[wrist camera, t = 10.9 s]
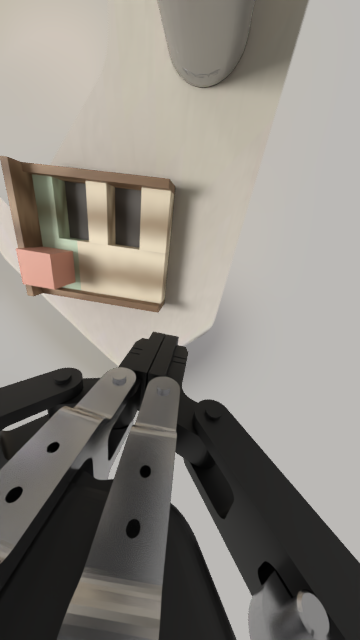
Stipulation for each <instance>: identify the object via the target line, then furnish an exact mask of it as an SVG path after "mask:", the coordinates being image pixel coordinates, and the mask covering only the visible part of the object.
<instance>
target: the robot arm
mask: <svg viewBox="0 0 360 640" xmlns="http://www.w3.org/2000/svg"><path fill="white" fill-rule="evenodd" d="M157 2H158V6H159V10H160V15H161V20H162V24H163V28H164V32H165V37H166V41H167V45H168V49H169V54H170V58H171V60H172V63H173V65H174V67H175V69H176V71H177V72H178V74H179V75H180V76H181V77H182V78H183V79H184V80H185V81H186V82H188V83H189V84H191V85H193V86H197V87H209V86H212V85H215V84H217V83H219V82H220V81H222V80H223V79H225V78H226V77H227V76H228V75H229V74H230V73H231V72H232V71H233V69H234V68H235V66H236V65H237V63H238V62H239V60H240V58H241V56H242V54H243V52H244V49H245V46H246V43H247V39H248V35H249V30H250V24H251V19H252V14H253V9H254V3H255V0H157ZM178 338H179V337H177V336H172V335H167V334H162V333H157V332H153V333H152V334H151V336H150V338H149V339H144V338H142V339H140V340H139V341H137V342H136V343H135V344H134V345H133V347H132V348H131V350H130V351H129V353H128V354H127V355H126V357H125V358H124V360H123V361H122V363H121V364H120V365H119V367H118V368H113V369H111V370H109V371H107V372H106V373H105V374H104V375H103V376H102V377H101V378H88V379H87V378H86V379H83V378H82V373H81V372H80V371H79V370H77V369H74V368H62V369H58V370H55V371H52V372H49V373H45V374H43V375H39V376H36V377H33V378H30V379H27V380H24V381H20V382H17V383H14V384H11V385H8V386H5V387H2V388H0V640H236V637H235V635H234V632H233V630H232V627H231V625H230V622H229V620H228V617H227V615H226V612H225V610H224V607H223V605H222V602H221V600H220V597H219V595H218V592H217V590H216V587H215V585H214V582H213V580H212V577H211V575H210V572H209V570H208V567H207V565H206V562H205V560H204V557H203V555H202V552H201V550H200V547H199V545H198V542H197V540H196V537H195V535H194V533H193V532H192V529H191V528H190V526H189V524H188V522H187V521H186V520H185V518H184V517H183V515H182V514H181V513H180V512H179V510H178V509H177V508H176V507H175V506H174V505H172V504H171V503H170V501H171V491H172V480H173V470H174V460H175V452H176V453H177V454H179V455H180V456H182V457H183V458H184V463H185V465H186V467H187V469H188V471H189V473H190V475H191V477H192V479H193V481H194V483H195V485H196V487H197V489H198V491H199V493H200V495H201V497H202V499H203V501H204V503H205V505H206V506H207V509H208V511H209V512H210V514H211V516H212V518H213V520H214V522H215V524H216V526H217V528H218V530H219V532H220V534H221V536H222V538H223V540H224V542H225V544H226V546H227V548H228V550H229V552H230V553H231V555H232V557H233V559H234V561H235V563H236V565H237V567H238V569H239V571H240V573H241V575H242V577H243V579H244V581H245V583H246V585H247V587H248V589H249V590H250V592H251V595H252V599H251V602H250V607H249V614H248V621H249V622H248V623H249V633H250V639H251V640H360V563H359V562H358V561H357V560H356V559H355V557H354V556H353V555H352V554H351V553H350V551H349V550H348V549H347V548H346V547H345V546H344V544H343V543H342V542H341V541H340V540H339V539H338V537H337V536H336V535H335V534H334V533H333V532H332V530H331V529H330V528H329V527H328V526H327V525H326V524H325V522H324V521H323V520H322V519H321V518H320V517H319V515H318V514H317V513H316V512H315V511H314V510H313V508H312V507H311V506H310V505H309V504H308V503H307V501H306V500H305V499H304V498H303V497H302V496H301V494H300V493H299V492H298V491H297V490H296V489H295V488H294V486H293V485H292V484H291V483H290V482H289V480H288V479H287V478H286V477H285V476H284V475H283V474H282V472H281V471H280V470H279V469H278V468H277V467H276V465H275V464H274V463H273V462H272V461H271V460H270V458H269V457H268V456H267V455H266V454H265V453H264V452H263V450H262V449H261V448H260V447H259V446H258V444H257V443H256V442H255V441H254V440H253V439H252V438H251V436H250V435H249V434H248V433H247V432H246V430H245V429H244V428H243V427H242V426H241V425H240V424H239V422H238V421H237V420H236V419H235V418H234V416H233V415H232V414H231V413H230V412H229V411H228V410H227V408H226V407H225V406H224V405H222V404H221V403H219V402H217V401H214V400H203V401H200V402H199V403H197V402H195V401H193V400H192V399H190V398H189V397H187V396H186V395H185V393H184V392H183V390H182V381H183V376H184V372H185V366H186V361H187V356H188V352H187V349H186V347H183V346H178ZM46 409H47V410H48V414H47V415H45V416H43V417H41V418H38V419H36V420H34V421H32V422H29V423H27V424H25V425H22V426H20V427H18V428H15V429H13V430H10V431H2V429H4V428H5V427H7V426H9V425H11V424H14V423H16V422H18V421H21V420H23V419H25V418H28V417H30V416H32V415H35V414H37V413H40V412H42V411H44V410H46ZM137 410H139V414H138V417H137V420H136V423H135V425H133V419H134V417H135V414H136V412H137ZM129 431H130V432H129ZM128 433H129V435H128ZM127 435H128V438H127V441H126V444H125V447H124V450H123V453H122V456H121V459H120V462H119V465H118V468H117V471H116V474H115V477H114V479H111V480H108V476H109V472H110V469H111V467H112V465H113V463H114V461H115V459H116V457H117V455H118V453H119V451H120V449H121V447H122V445H123V443H124V441H125V439H126V437H127Z"/></svg>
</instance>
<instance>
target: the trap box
mask: <svg viewBox="0 0 360 640" xmlns="http://www.w3.org/2000/svg"><path fill="white" fill-rule="evenodd" d="M0 160H1V165H2V170H3V175H4V180H5V185H6V190H7V194H8V200H9V204H10V210H11V215H12V219H13V224H14V229H15V234H16V239H17V244H18V248H30V247H43V246H44V247H50V248H56V249H62V250H69V251H73V257H74V269H75V281H76V282H74V283H72V284H69V285H66V286H63V287H60V288H58V289H55V290H54V289H48V288H43V287H37V286H32V285H26V289H27V294H28V295H29V296H36V295H39V294H41V293H47V294H52V295H58V296H64V297H70V298H76V299H82V300H88V301H94V302H100V303H105V304H111V305H117V306H123V307H129V308H135V309H141V310H147V311H153V312H159V311H160V309H161V308H162V306H163V305H164V301H165V290H166V279H167V269H168V258H169V248H170V237H171V227H172V216H173V206H174V195H175V186H174V184H173V183H172V182H171V180H170V179H165V178H157V177H148V176H139V175H130V174H121V173H113V172H104V171H95V170H86V169H78V168H69V167H60V166H51V165H42V164H34V163H25V162H19V161H17V160H14V159H12V158H9V157H5V156H0Z"/></svg>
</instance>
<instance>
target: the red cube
mask: <svg viewBox="0 0 360 640" xmlns="http://www.w3.org/2000/svg"><path fill="white" fill-rule="evenodd" d="M16 251H17V256H18V261H19V266H20V271H21V276H22V282H23V284H26V285H32V286H37V287H43V288H48V289H54V290H55V289H58V288H60V287H63V286H66V285H69V284H72V283H74V282H76V281H75V269H74V257H73V251H69V250H62V249H56V248H50V247H44V246H43V247H30V248H17V249H16Z"/></svg>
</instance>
